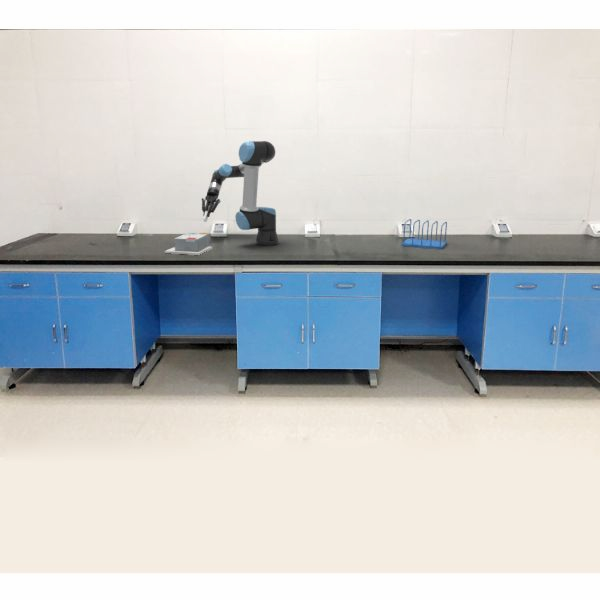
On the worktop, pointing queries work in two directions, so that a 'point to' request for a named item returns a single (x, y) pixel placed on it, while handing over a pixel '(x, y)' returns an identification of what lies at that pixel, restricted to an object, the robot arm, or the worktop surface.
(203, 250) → the white flat square panel
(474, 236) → the worktop surface
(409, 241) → the file sorter
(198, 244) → the hard drive box
